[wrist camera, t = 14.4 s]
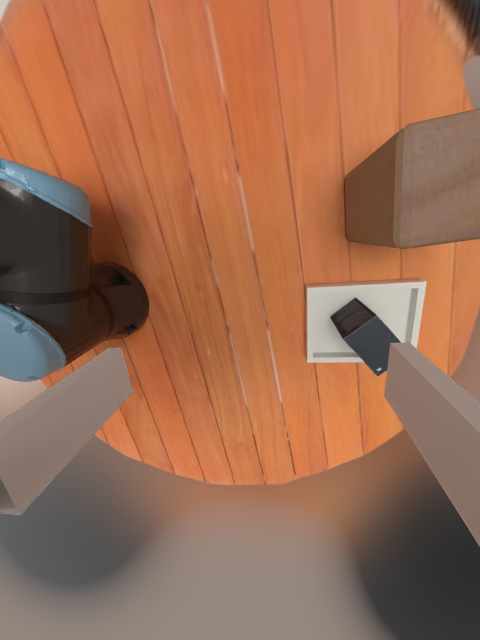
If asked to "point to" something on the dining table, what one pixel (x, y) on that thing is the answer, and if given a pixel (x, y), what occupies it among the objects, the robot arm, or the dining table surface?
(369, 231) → the wooden block
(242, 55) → the dining table surface
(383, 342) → the box
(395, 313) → the tray
